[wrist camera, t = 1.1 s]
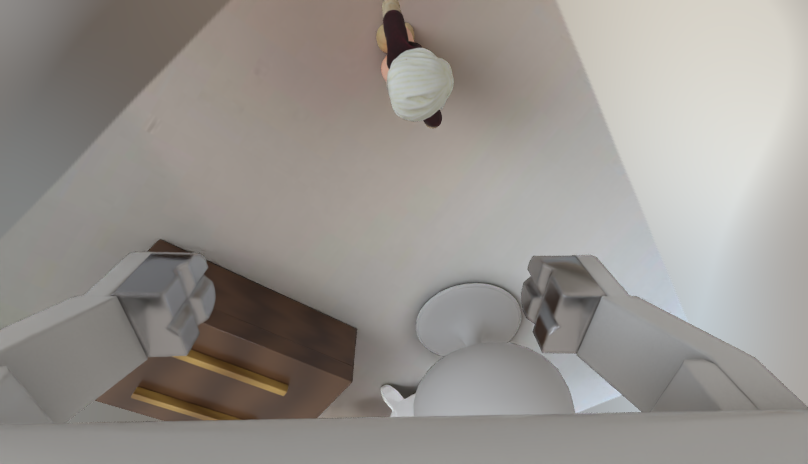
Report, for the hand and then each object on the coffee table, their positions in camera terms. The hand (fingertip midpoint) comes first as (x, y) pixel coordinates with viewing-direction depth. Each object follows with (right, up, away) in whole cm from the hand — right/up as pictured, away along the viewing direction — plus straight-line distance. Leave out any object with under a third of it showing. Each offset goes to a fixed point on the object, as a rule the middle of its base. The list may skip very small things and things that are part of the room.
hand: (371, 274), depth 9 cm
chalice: (+8, -9, +33) cm, 35 cm away
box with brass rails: (-18, -10, +32) cm, 38 cm away
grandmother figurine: (+1, +14, +18) cm, 23 cm away
